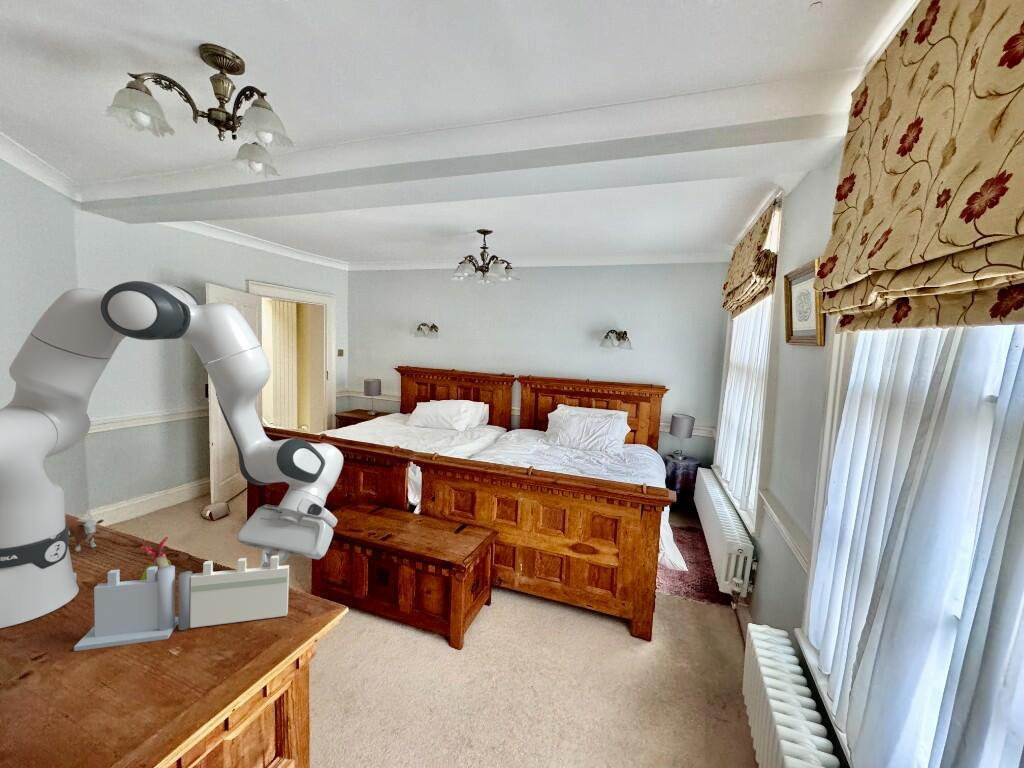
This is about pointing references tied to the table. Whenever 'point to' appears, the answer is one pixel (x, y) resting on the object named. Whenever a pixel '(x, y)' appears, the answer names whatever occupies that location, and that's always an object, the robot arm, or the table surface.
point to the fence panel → (232, 594)
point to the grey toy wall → (133, 610)
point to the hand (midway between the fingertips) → (265, 572)
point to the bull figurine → (82, 530)
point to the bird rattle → (156, 557)
